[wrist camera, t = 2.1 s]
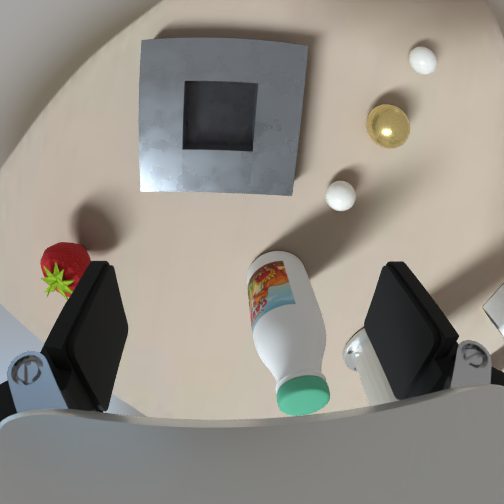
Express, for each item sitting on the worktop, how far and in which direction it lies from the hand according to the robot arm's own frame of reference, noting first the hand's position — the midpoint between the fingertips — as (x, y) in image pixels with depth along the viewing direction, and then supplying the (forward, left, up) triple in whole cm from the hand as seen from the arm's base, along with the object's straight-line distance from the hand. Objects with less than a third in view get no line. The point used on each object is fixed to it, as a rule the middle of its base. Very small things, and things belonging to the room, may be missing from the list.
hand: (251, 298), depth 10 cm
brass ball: (-16, -5, -23) cm, 29 cm away
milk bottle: (-6, +16, -26) cm, 31 cm away
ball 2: (-20, -14, -24) cm, 34 cm away
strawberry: (+20, +13, -26) cm, 35 cm away
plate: (+2, -4, -26) cm, 26 cm away
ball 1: (-12, +4, -24) cm, 27 cm away
